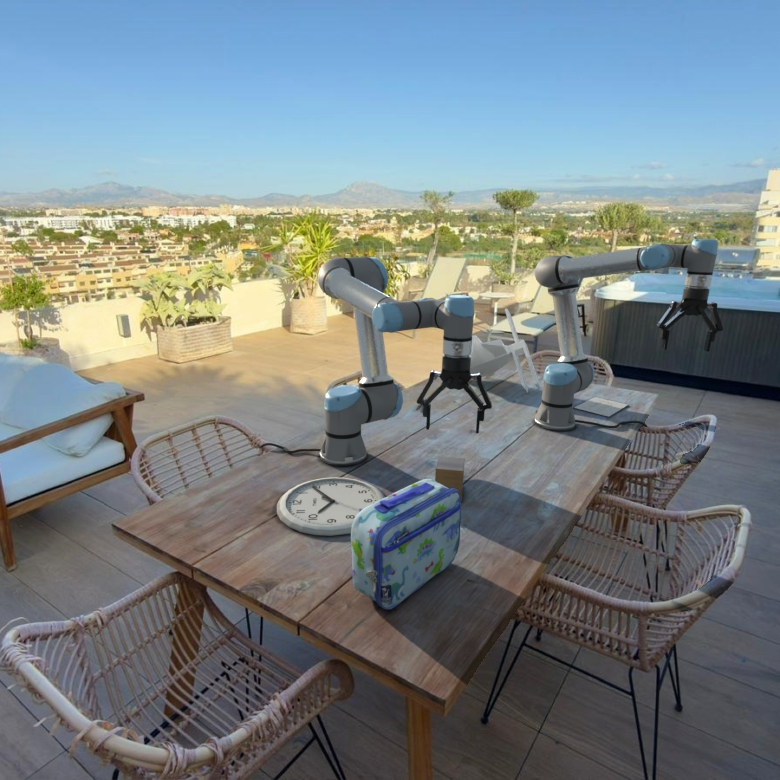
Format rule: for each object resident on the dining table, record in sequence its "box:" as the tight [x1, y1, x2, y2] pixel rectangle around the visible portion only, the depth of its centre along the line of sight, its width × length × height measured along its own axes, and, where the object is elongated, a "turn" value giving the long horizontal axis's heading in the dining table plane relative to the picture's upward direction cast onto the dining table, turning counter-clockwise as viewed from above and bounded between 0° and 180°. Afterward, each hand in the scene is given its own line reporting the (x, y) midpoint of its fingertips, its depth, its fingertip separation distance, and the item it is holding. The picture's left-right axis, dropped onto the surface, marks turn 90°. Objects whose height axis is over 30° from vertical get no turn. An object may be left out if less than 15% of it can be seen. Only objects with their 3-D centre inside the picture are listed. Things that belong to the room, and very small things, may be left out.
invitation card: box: [573, 396, 629, 418], centre depth 226 cm, size 21×1×15 cm
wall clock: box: [276, 476, 386, 537], centre depth 142 cm, size 30×2×30 cm
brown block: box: [434, 455, 466, 502], centre depth 149 cm, size 8×8×9 cm
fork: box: [415, 395, 429, 410], centre depth 224 cm, size 3×16×2 cm, turn 160°
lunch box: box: [350, 478, 462, 611], centre depth 110 cm, size 26×11×21 cm, turn 135°
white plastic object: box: [469, 307, 542, 394], centre depth 254 cm, size 37×45×31 cm
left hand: (452, 429), depth 145 cm, fingers open, 13 cm apart
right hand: (685, 349), depth 180 cm, fingers open, 13 cm apart
